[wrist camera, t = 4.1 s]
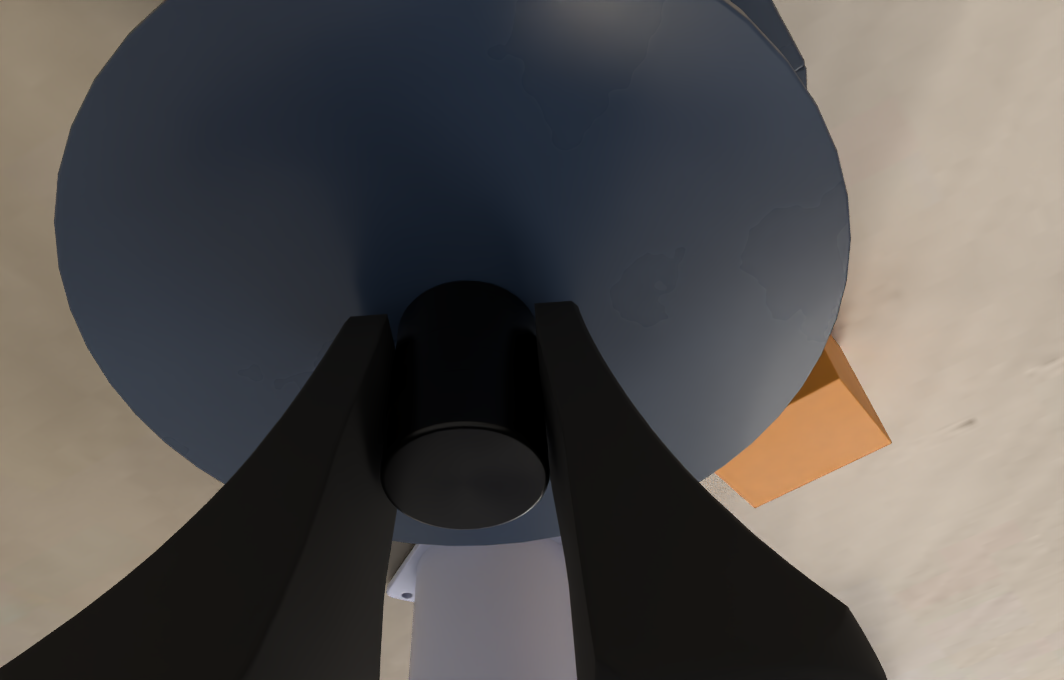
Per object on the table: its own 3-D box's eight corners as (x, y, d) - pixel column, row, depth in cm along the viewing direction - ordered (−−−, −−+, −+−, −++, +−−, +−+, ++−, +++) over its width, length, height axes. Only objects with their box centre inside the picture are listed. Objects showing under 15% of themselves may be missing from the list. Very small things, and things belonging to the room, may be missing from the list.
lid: (974, -46, 10) (1200, 78, 7) (709, 515, 19) (757, 688, 15) (-50, -181, 9) (-365, -104, 5) (168, 498, 17) (95, 686, 14)
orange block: (840, 347, 27) (892, 443, 24) (722, 411, 29) (754, 509, 26) (790, 282, 25) (839, 378, 22) (666, 356, 27) (693, 454, 24)
